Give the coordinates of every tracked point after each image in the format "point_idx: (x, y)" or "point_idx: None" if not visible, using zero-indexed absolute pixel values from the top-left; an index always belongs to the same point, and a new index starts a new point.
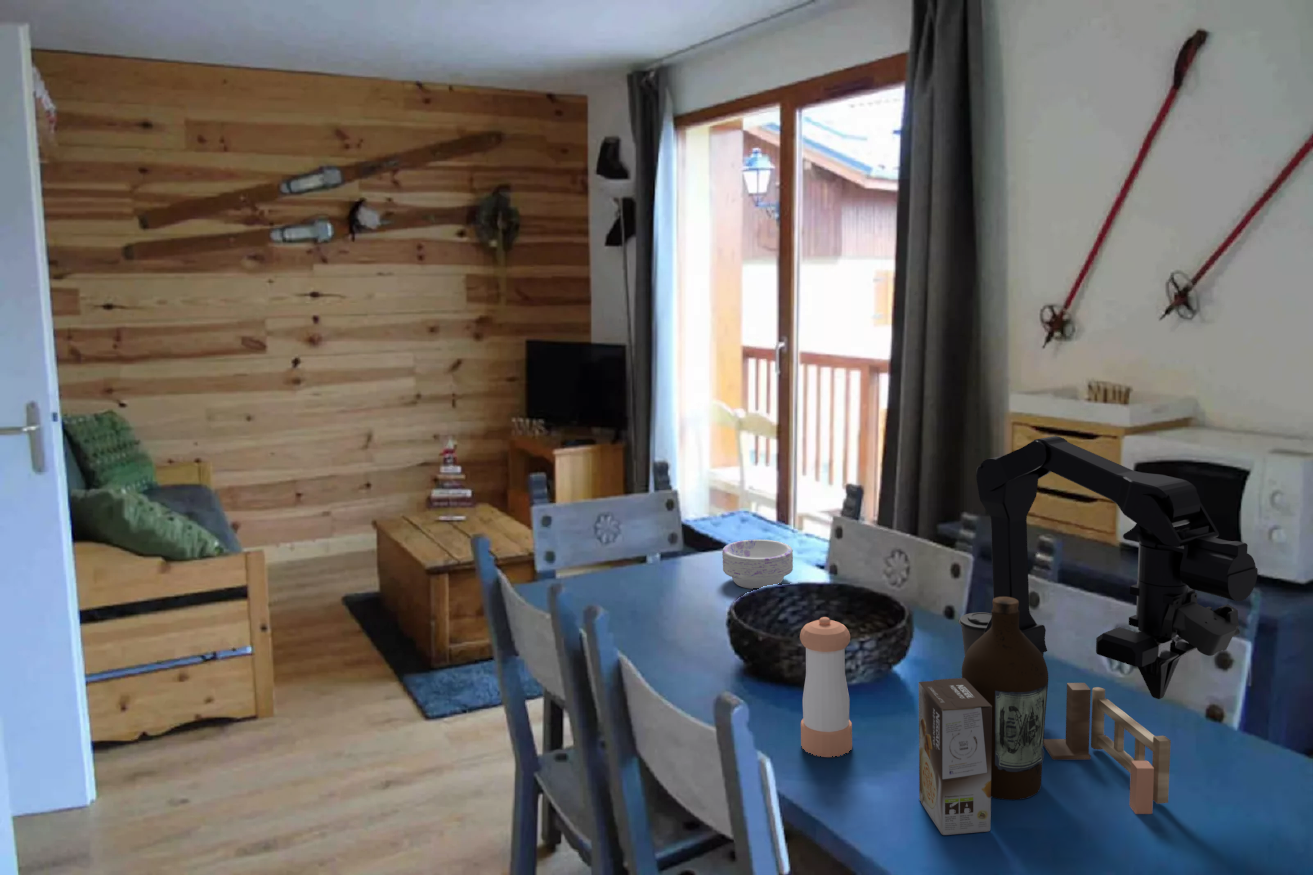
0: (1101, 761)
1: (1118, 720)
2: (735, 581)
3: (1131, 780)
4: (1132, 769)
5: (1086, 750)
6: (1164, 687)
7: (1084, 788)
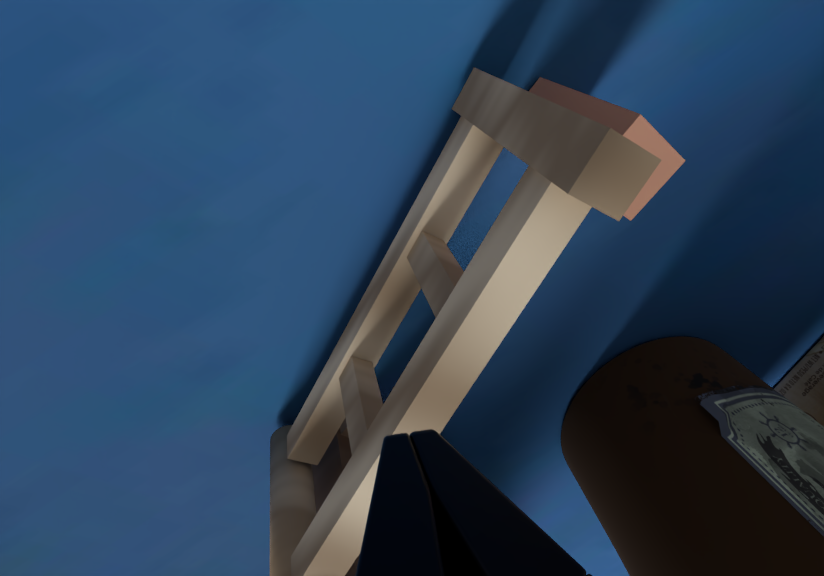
0: None
1: None
2: None
3: None
4: None
5: (344, 436)
6: (432, 494)
7: (532, 300)
